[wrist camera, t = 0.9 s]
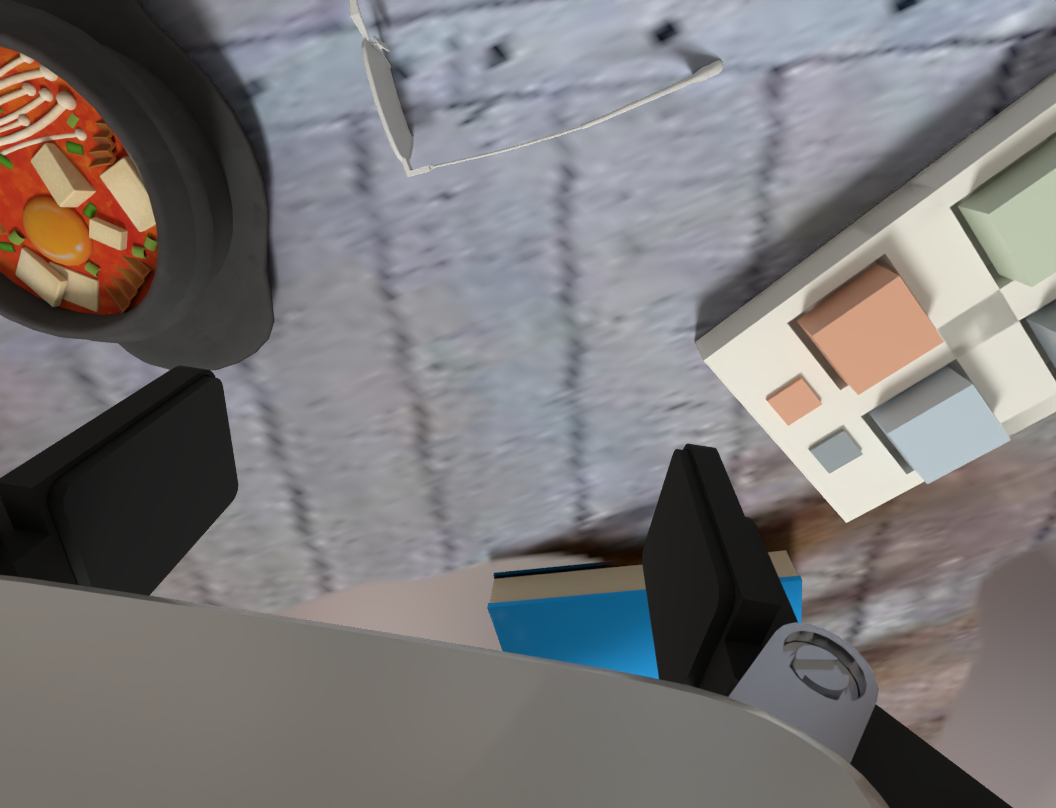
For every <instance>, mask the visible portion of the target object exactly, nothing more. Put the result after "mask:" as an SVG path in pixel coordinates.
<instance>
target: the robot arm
mask: <svg viewBox="0 0 1056 808" xmlns="http://www.w3.org/2000/svg"><path fill="white" fill-rule="evenodd" d="M237 491H238V479H237V473H236V466H235V460H234V454H233V447H232V441H231V435H230V428H229V422H228V416H227V409H226V403H225V396H224V390H223V385H222V382H221V381H220V379H218V378H215V375H214V374H213V372H212V371H210V370H207V369H201V368H194V367H188V366H177V367H174V368H173V369H171V370H170V371H168V372H166V373H165V374H163V375H162V376H160V377H159V378H157V379H155V380H154V381H152V382H151V383H149V384H148V385H146V386H144V387H143V388H141V389H140V390H138V391H137V392H135V393H133V394H132V395H130V396H129V397H127V398H126V399H124V400H122V401H121V402H119V403H118V404H116V405H115V406H113V407H111V408H110V409H108V410H107V411H105V412H104V413H102V414H100V415H99V416H97V417H96V418H94V419H93V420H91V421H89V422H88V423H86V424H85V425H83V426H82V427H80V428H78V429H77V430H75V431H74V432H72V433H71V434H69V435H67V436H66V437H64V438H63V439H61V440H60V441H58V442H56V443H55V444H53V445H52V446H50V447H49V448H47V449H45V450H44V451H42V452H41V453H39V454H38V455H36V456H34V457H33V458H31V459H30V460H28V461H27V462H25V463H23V464H22V465H20V466H19V467H17V468H16V469H14V470H12V471H11V472H9V473H8V474H6V475H5V476H3V477H1V478H0V808H1012V807H1011V806H1010V805H1009V804H1007V803H1006V802H1004V801H1003V800H1002V799H1000V798H999V797H998V796H997V795H995V794H994V793H993V792H991V791H990V790H989V789H987V788H986V787H985V786H983V785H982V784H981V783H979V782H978V781H977V780H975V779H974V778H972V777H971V776H970V775H969V774H967V773H966V772H965V771H963V770H962V769H961V768H960V767H958V766H957V765H956V764H954V763H953V762H952V761H950V760H949V759H948V758H946V757H945V756H944V755H942V754H941V753H940V752H938V751H937V750H936V749H934V748H933V747H932V746H930V745H929V744H928V743H926V742H925V741H924V740H922V739H921V738H920V737H918V736H917V735H916V734H914V733H913V732H912V731H911V730H909V729H908V728H907V727H905V726H904V725H903V724H901V723H900V722H899V721H897V720H896V719H895V718H893V717H892V716H891V715H889V714H888V713H887V712H885V711H884V710H883V709H881V708H880V707H879V706H877V705H876V702H877V697H878V690H879V688H878V685H877V682H876V678H875V675H874V673H873V672H872V670H871V668H870V667H869V665H868V663H867V662H866V661H865V659H864V658H863V657H862V656H861V655H860V654H859V653H858V652H857V651H856V650H855V649H854V648H853V647H852V646H851V645H849V644H848V643H847V642H845V641H844V640H843V639H841V638H840V637H839V636H837V635H835V634H833V633H831V632H829V631H827V630H826V629H824V628H820V627H817V626H814V625H811V624H806V623H798V620H797V618H796V616H795V613H794V611H793V609H792V607H791V604H790V602H789V600H788V597H787V595H786V593H785V590H784V588H783V586H782V584H781V581H780V579H779V577H778V574H777V572H776V570H775V567H774V565H773V563H772V561H771V558H770V556H769V554H768V551H767V549H766V547H765V544H764V542H763V540H762V538H761V535H760V533H759V531H758V528H757V526H756V524H755V523H754V521H753V520H752V519H751V518H749V517H745V516H744V513H743V511H742V508H741V506H740V504H739V501H738V499H737V496H736V494H735V491H734V489H733V487H732V484H731V482H730V479H729V477H728V475H727V472H726V470H725V467H724V465H723V463H722V460H721V458H720V455H719V453H718V451H717V449H716V448H713V447H706V446H700V445H693V444H686V445H685V447H684V449H683V450H680V449H676V450H675V451H674V453H673V456H672V459H671V462H670V465H669V468H668V471H667V475H666V478H665V481H664V484H663V487H662V490H661V494H660V497H659V500H658V503H657V506H656V510H655V513H654V516H653V519H652V522H651V525H650V529H649V532H648V535H647V538H646V541H645V545H644V548H643V555H642V566H643V573H644V580H645V587H646V593H647V600H648V607H649V614H650V621H651V628H652V635H653V642H654V648H655V655H656V662H657V669H658V676H659V679H655V678H651V677H646V676H642V675H636V674H631V673H626V672H621V671H615V670H610V669H604V668H598V667H592V666H586V665H580V664H575V663H569V662H564V661H558V660H553V659H547V658H540V657H534V656H528V655H522V654H516V653H510V652H504V651H497V650H491V649H485V648H479V647H473V646H467V645H461V644H454V643H448V642H442V641H436V640H430V639H424V638H417V637H412V636H405V635H398V634H392V633H386V632H379V631H373V630H367V629H361V628H355V627H348V626H342V625H336V624H329V623H323V622H316V621H310V620H303V619H296V618H291V617H285V616H278V615H272V614H265V613H259V612H253V611H246V610H240V609H233V608H227V607H220V606H213V605H207V604H200V603H194V602H187V601H180V600H174V599H167V598H161V597H154V596H149V595H150V594H151V593H152V592H153V591H154V590H155V589H156V587H157V586H158V585H159V584H160V583H161V582H162V581H163V580H164V578H165V577H166V576H167V575H168V574H169V573H170V572H171V570H172V569H173V568H174V567H175V566H176V565H177V564H178V563H179V561H180V560H181V559H182V558H183V557H184V556H185V555H186V553H187V552H188V551H189V550H190V549H191V548H192V547H193V546H194V544H195V543H196V542H197V541H198V540H199V539H200V538H201V536H202V535H203V534H204V533H205V532H206V531H207V530H208V529H209V527H210V526H211V525H212V524H213V523H214V522H215V521H216V519H217V518H218V517H219V516H220V515H221V514H222V513H223V512H224V510H225V509H226V508H227V507H228V506H229V505H230V504H231V502H232V501H233V500H234V498H235V496H236V494H237Z"/></svg>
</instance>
